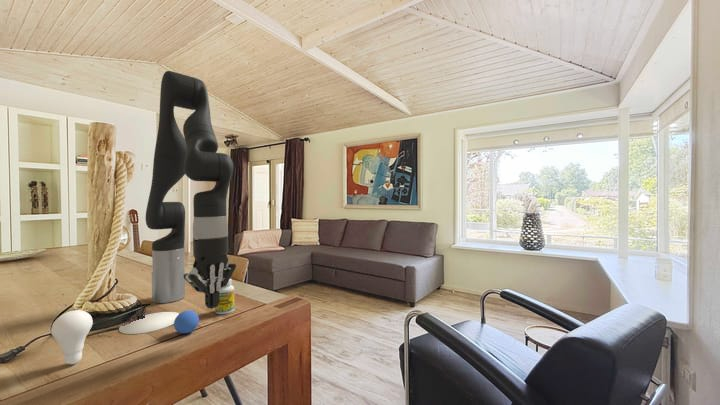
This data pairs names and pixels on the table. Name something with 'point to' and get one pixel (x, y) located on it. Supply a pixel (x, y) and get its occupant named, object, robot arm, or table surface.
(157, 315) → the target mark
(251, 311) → the table surface
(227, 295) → the supplement bottle
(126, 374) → the table surface
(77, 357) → the lightbulb
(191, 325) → the ball
